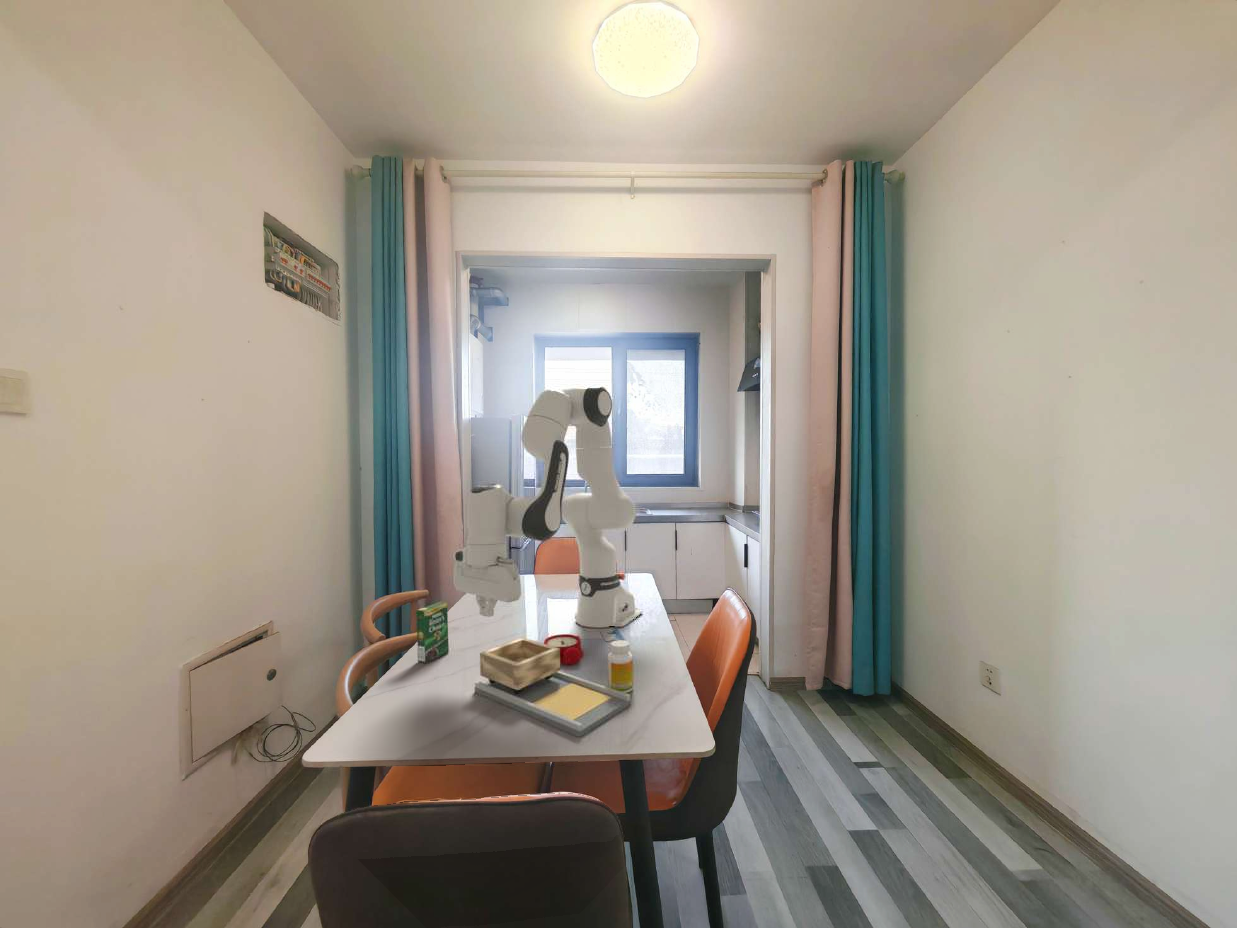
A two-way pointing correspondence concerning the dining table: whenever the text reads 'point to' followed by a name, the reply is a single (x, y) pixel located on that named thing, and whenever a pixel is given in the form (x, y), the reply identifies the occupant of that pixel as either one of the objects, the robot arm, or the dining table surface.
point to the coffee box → (432, 632)
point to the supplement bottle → (620, 667)
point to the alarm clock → (567, 647)
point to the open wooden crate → (520, 663)
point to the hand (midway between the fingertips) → (486, 615)
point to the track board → (561, 701)
